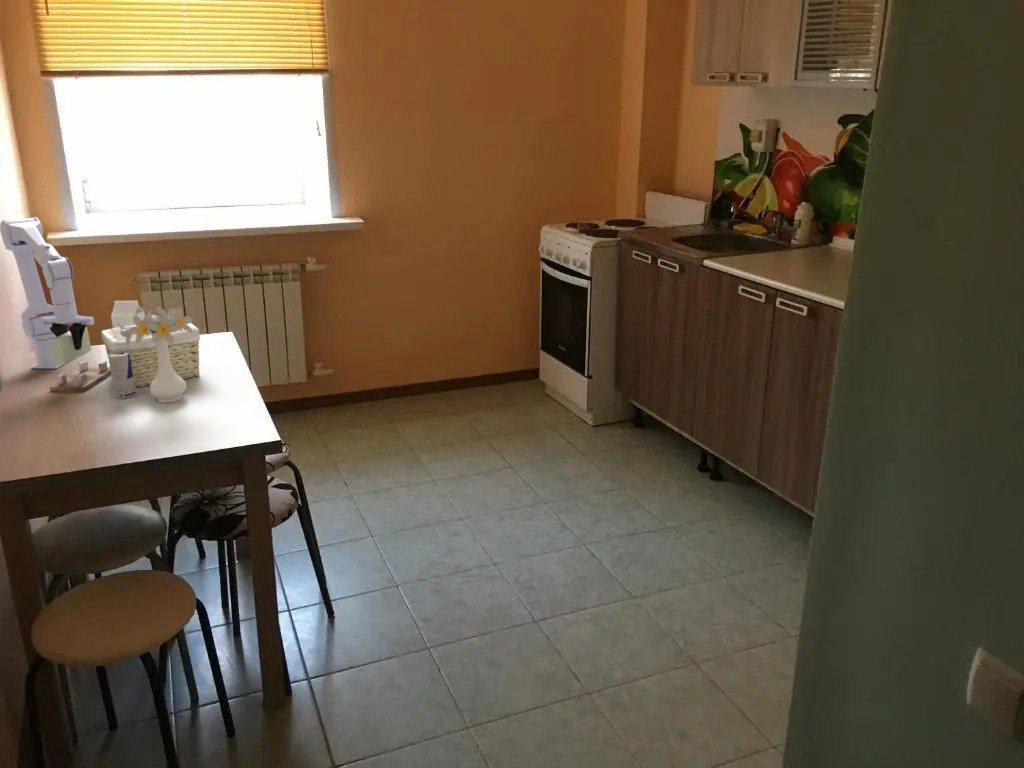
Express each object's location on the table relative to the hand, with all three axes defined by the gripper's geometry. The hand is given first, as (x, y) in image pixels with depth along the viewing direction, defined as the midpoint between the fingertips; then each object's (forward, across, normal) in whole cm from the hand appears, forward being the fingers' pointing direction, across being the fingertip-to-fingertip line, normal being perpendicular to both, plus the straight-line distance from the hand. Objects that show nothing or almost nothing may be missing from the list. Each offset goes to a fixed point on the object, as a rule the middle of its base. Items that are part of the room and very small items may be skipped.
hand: (72, 349), depth 245 cm
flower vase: (+10, +33, -15) cm, 37 cm away
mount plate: (+10, +2, 0) cm, 10 cm away
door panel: (+2, 0, 0) cm, 2 cm away
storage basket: (+10, +22, +4) cm, 24 cm away
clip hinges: (+8, +2, 0) cm, 9 cm away
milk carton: (+10, +8, +19) cm, 23 cm away
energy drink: (+10, +20, -12) cm, 25 cm away
